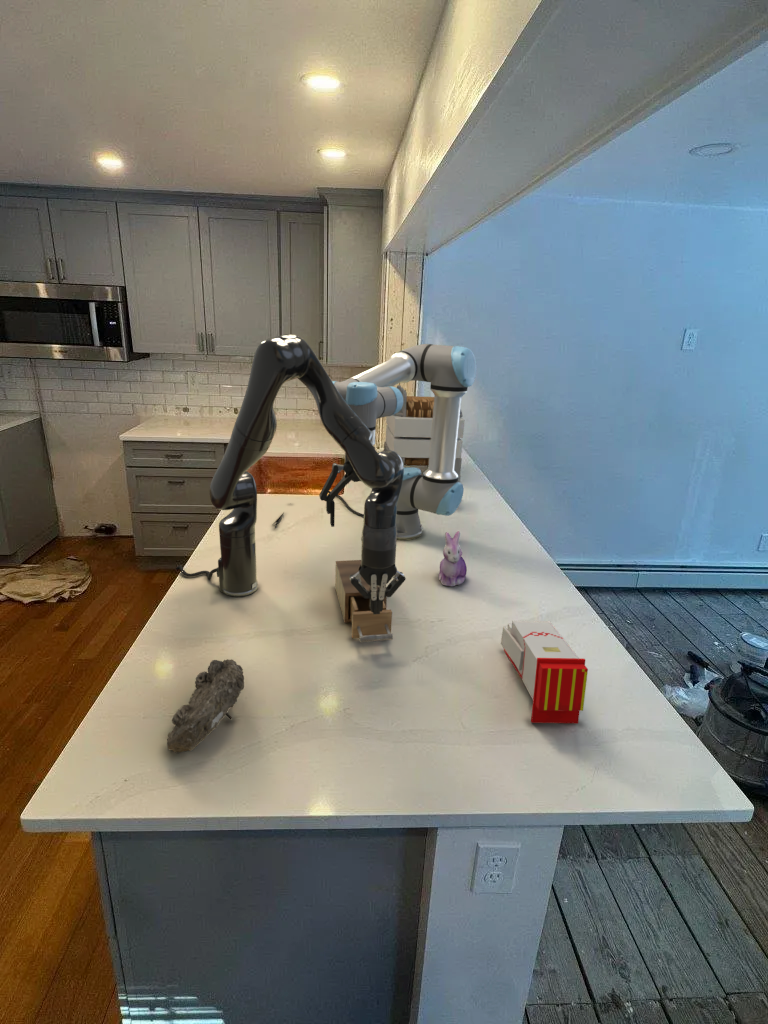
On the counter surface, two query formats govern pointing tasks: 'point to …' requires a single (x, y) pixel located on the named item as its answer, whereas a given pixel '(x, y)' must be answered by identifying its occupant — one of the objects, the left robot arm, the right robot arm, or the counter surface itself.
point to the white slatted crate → (416, 432)
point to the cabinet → (347, 585)
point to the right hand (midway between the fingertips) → (357, 524)
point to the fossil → (206, 705)
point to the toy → (547, 670)
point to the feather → (278, 520)
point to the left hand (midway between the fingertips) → (376, 612)
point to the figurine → (452, 562)
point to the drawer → (369, 621)
